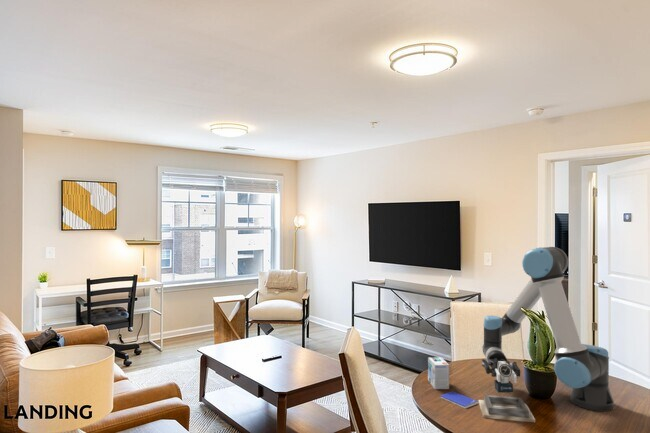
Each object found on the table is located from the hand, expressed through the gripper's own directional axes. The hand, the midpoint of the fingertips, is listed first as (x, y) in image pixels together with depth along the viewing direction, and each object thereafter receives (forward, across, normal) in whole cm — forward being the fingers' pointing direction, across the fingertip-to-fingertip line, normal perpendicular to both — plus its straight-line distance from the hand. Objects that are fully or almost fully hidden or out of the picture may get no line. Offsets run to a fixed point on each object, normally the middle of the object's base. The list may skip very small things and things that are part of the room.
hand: (507, 378), depth 162 cm
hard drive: (-12, +16, -16) cm, 25 cm away
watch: (-5, 0, -7) cm, 8 cm away
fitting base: (-5, 0, -14) cm, 15 cm away
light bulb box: (-28, +24, -15) cm, 39 cm away
